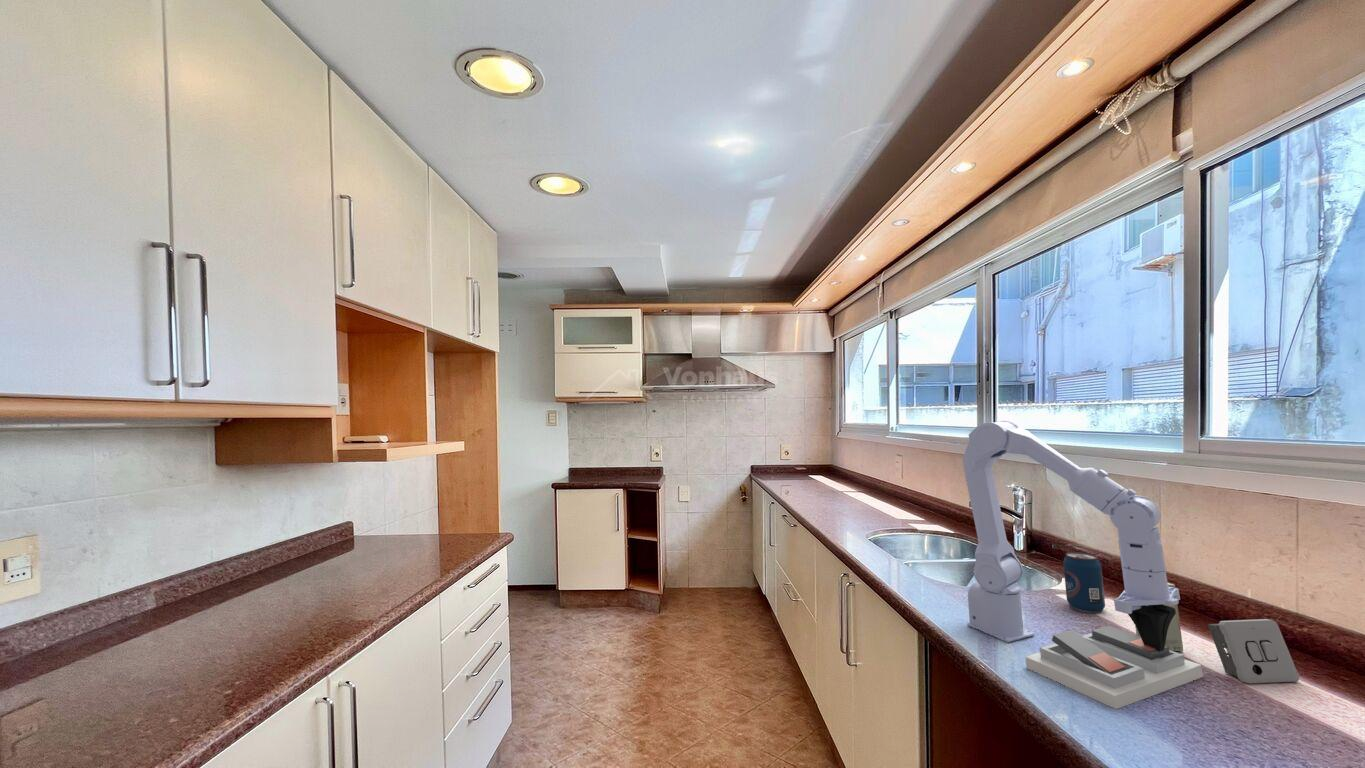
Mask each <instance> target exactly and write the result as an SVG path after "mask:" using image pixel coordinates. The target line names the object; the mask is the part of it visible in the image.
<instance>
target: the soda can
mask: <svg viewBox="0 0 1365 768" xmlns="http://www.w3.org/2000/svg"><path fill="white" fill-rule="evenodd" d="M1062 561H1063V562H1062V563H1063V571H1064V573H1063V574H1064V584H1065V595H1066V602H1067V603H1068V605H1069V606H1070V607H1071V608H1072V609H1074V610H1076V611H1080V612H1083V613H1090V614H1098V613H1102V612H1103V611H1104V609H1105V607H1106V600H1105V592H1104V591H1105V589H1104V580H1103V579H1104V578H1103V570H1102V569H1103V567H1102V564H1101V562H1100V560H1099V559H1098V556H1097V555H1095V554H1092V553H1087V552H1077V551H1072V552H1071V551H1069V552H1066V553H1065V557H1064V558H1063V560H1062Z"/></svg>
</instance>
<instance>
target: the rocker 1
mask: <svg viewBox="0 0 1365 768" xmlns="http://www.w3.org/2000/svg"><path fill="white" fill-rule="evenodd" d="M1082 636H1083V635H1080V633H1078V632H1076V631H1075V630H1073V629H1071V630H1067V631H1062V632H1060V633H1056V634H1053V635H1052V639H1051V641H1052V642H1053V644H1055V643H1056V644H1057V645H1059V646H1060V647H1061V648H1063V649H1064V650H1065V651H1067V652H1068V653H1070V654H1071V655H1072V656H1074V657H1075V658H1077V659H1078V660H1079V661H1081V662H1082V663H1084V664H1086V665H1089V666H1091V667H1094V668H1096V669H1098V670H1101V671H1103V672H1106V673H1108V674H1111V675H1112V674H1115V673H1118V672H1121V671H1124V670H1127V669H1129V668H1128V667H1127V666H1125V665H1124V664H1122V663H1121V662H1119V661H1118V660H1116V659H1115V658H1113V657H1112V656H1110V655H1109V654H1107V653H1106V652H1104V651H1103V650H1101V649H1100V648H1098V647H1097V646H1095V645H1094V644H1093V643H1091V642H1090V641H1088V640H1087V639H1085V638H1084V637H1082Z"/></svg>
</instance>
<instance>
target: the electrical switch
mask: <svg viewBox="0 0 1365 768" xmlns="http://www.w3.org/2000/svg"><path fill="white" fill-rule="evenodd" d="M1207 626H1208V629H1209V633H1210V634H1211V637H1212V639H1213V643H1214V645H1215V648H1216V651H1217V653H1218V656H1219V659H1220V661H1221V664H1222V666H1223V669H1224V673H1225V674H1227V673H1228V674H1227V675H1232V676H1235V677H1237V678H1238V679H1239V680H1240V681H1241V682H1242V683H1243V682H1245V683H1244V684H1264V683H1265V684H1267V683H1287V682H1288V683H1290V682H1299V681H1300V675H1299V672H1298V669H1297V668H1296V665H1295V663H1294V660H1293V658H1292V656H1291V654H1290V651H1289V649H1288V646H1287V644H1286V642H1285V639H1284V636H1283V634H1282V632H1281V630H1280V627H1279V625H1278V622H1277V621H1275V620H1273V619H1268V618H1259V619H1236V620H1235V619H1233V620H1220V621H1219V623H1208V624H1207ZM1225 649H1226V650H1225Z"/></svg>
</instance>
